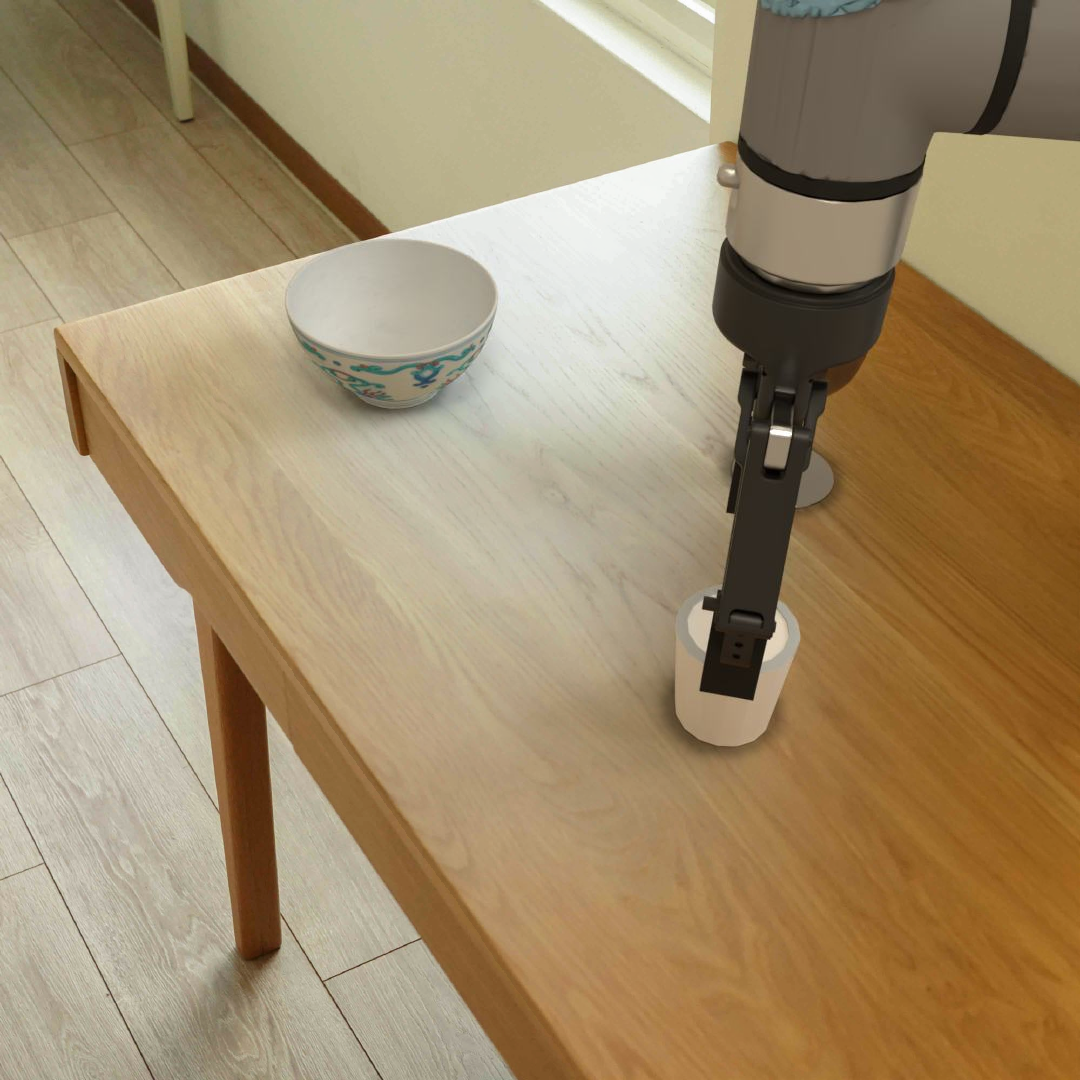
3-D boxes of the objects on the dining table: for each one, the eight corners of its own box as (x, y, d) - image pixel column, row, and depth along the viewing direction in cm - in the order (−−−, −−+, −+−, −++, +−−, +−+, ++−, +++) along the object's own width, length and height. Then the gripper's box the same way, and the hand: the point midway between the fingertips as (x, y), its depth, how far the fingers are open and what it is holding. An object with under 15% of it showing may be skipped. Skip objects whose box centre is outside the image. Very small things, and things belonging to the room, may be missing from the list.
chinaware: (255, 373, 101) (243, 284, 96) (414, 302, 108) (411, 217, 103) (375, 473, 93) (369, 383, 88) (538, 390, 100) (541, 302, 95)
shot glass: (801, 697, 79) (822, 616, 75) (747, 775, 75) (765, 694, 70) (700, 647, 82) (713, 565, 77) (641, 718, 78) (652, 637, 73)
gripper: (747, 109, 67) (696, 441, 82) (688, 410, 49) (636, 766, 64) (900, 128, 66) (820, 460, 81) (896, 442, 48) (795, 795, 63)
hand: (739, 596), depth 72 cm, fingers open, 13 cm apart
